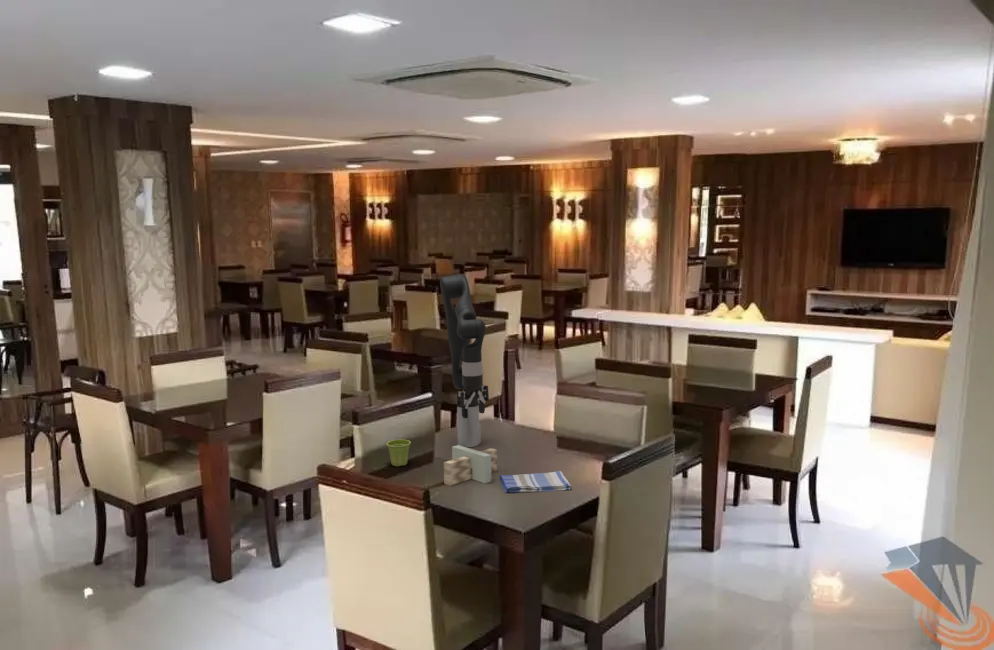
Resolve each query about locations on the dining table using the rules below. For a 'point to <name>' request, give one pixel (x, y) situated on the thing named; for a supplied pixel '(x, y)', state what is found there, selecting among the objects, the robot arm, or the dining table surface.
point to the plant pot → (399, 451)
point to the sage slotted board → (475, 462)
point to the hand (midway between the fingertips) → (473, 415)
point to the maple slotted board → (464, 468)
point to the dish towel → (535, 482)
